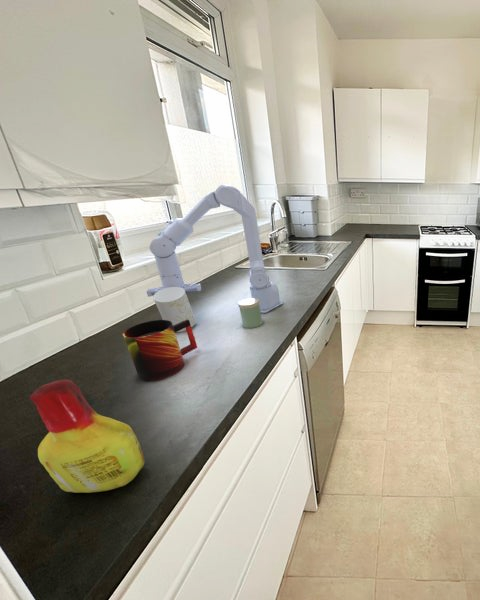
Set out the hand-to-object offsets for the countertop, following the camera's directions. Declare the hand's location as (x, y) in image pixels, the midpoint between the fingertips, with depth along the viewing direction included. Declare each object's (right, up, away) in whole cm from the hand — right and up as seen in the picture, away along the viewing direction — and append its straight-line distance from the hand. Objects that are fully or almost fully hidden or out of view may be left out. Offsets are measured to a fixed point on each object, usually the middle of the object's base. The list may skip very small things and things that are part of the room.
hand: (181, 312), depth 105 cm
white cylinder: (+2, -4, -3) cm, 5 cm away
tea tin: (+25, -4, -1) cm, 25 cm away
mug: (+13, -13, -23) cm, 29 cm away
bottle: (+26, -26, -54) cm, 65 cm away
